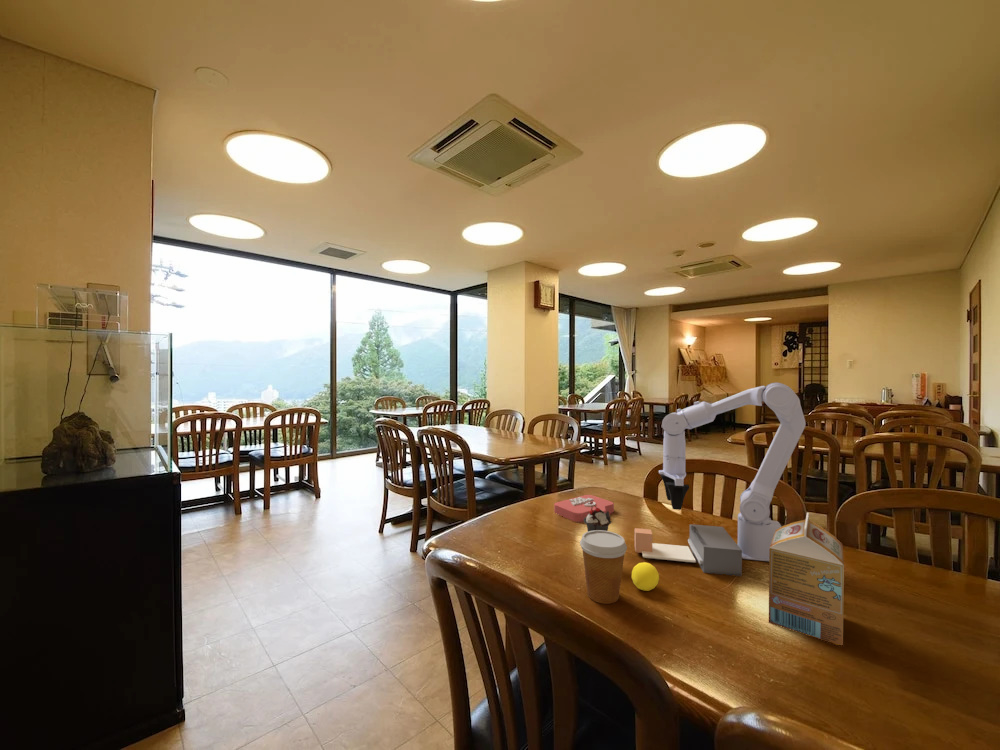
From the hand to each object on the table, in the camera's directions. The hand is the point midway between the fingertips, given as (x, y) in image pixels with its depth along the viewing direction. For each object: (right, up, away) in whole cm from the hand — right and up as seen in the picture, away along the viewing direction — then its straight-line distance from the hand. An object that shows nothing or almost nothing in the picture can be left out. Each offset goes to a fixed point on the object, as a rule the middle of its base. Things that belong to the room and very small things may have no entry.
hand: (673, 504), depth 113 cm
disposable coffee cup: (-27, -10, -29) cm, 41 cm away
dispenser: (+4, -10, -13) cm, 17 cm away
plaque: (-20, -10, +20) cm, 30 cm away
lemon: (-17, -10, -26) cm, 32 cm away
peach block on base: (-7, -9, -10) cm, 16 cm away
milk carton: (+9, -10, -37) cm, 39 cm away
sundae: (-25, -10, -14) cm, 30 cm away
